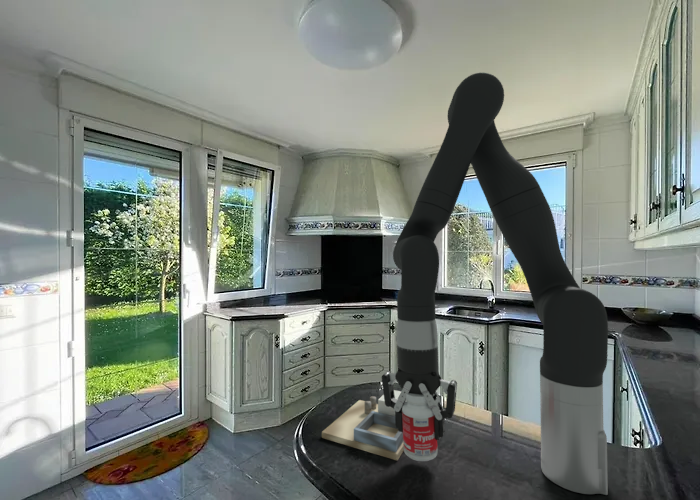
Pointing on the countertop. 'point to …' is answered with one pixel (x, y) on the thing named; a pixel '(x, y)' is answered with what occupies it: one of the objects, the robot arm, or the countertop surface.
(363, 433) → the base board
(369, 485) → the countertop surface
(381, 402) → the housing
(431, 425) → the pill bottle
